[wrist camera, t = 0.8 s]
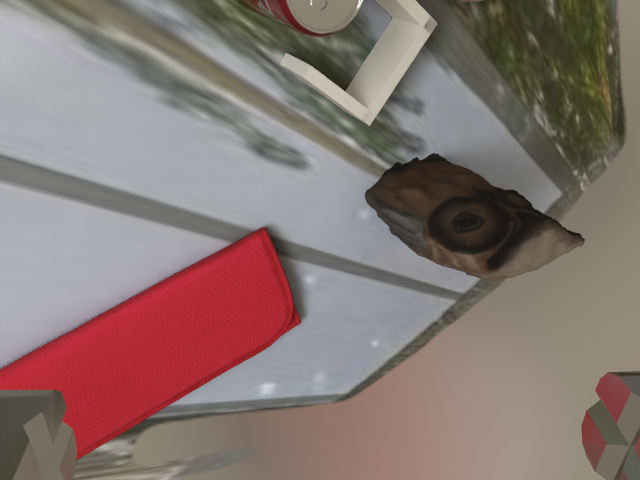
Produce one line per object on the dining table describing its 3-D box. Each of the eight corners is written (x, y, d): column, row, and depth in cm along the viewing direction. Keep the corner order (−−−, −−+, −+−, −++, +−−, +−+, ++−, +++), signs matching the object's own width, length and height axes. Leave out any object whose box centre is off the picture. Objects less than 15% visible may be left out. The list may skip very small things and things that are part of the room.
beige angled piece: (279, 63, 53) (303, 77, 50) (347, -46, 52) (377, -40, 48) (343, 110, 59) (369, 125, 56) (406, 14, 57) (437, 23, 54)
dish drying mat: (297, 317, 71) (311, 334, 69) (-28, 507, 61) (-27, 537, 59) (260, 221, 62) (274, 237, 59) (-134, 429, 52) (-140, 460, 49)
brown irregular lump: (352, 193, 65) (468, 286, 51) (428, 113, 65) (567, 182, 50) (402, 247, 74) (514, 339, 59) (469, 176, 74) (599, 251, 59)
